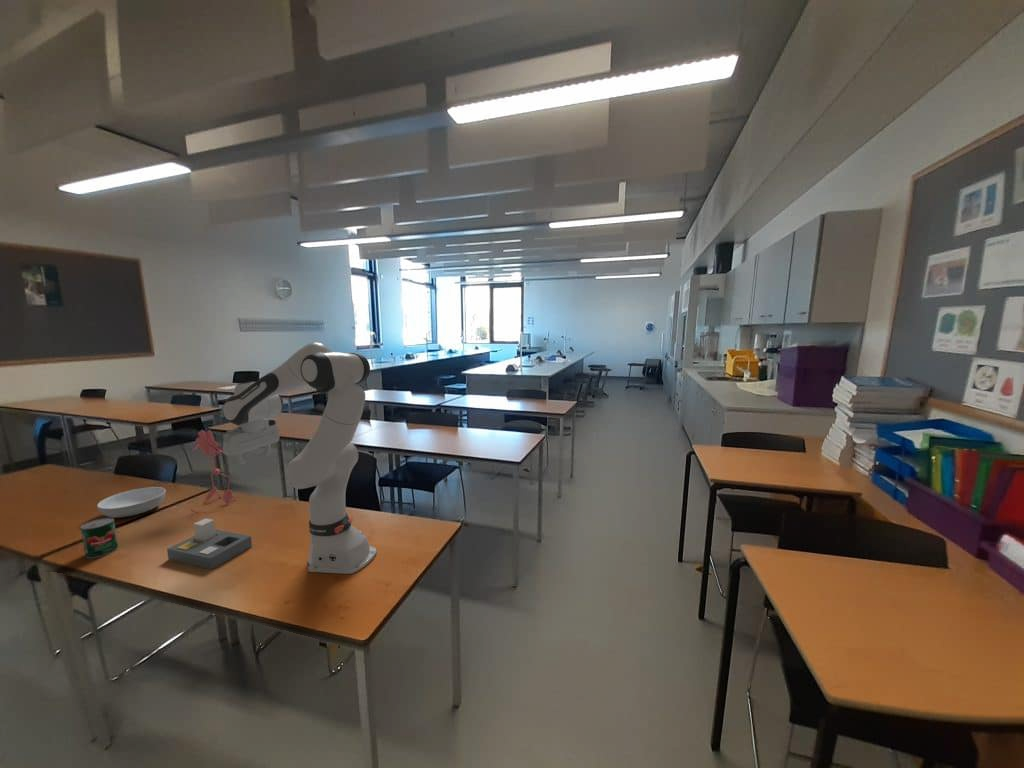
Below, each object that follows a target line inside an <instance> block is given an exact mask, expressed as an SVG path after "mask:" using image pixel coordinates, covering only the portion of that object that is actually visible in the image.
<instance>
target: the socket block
mask: <svg viewBox="0 0 1024 768" xmlns="http://www.w3.org/2000/svg"><path fill="white" fill-rule="evenodd" d="M215 534H216V536H215V537H213V538H211V539H209V540H207V541H205V542H199V541H196V538H195V535H194V536H191V537H188V538H186V539H185V540H183V541H181V542H178V543H177V544H174V545H172V546H170V547H168V548H166V550H167V559H168V561H172V562H177V563H181V564H185V565H190V566H194V567H198V568H199V567H200V568H203V569H208V570H210V571H211V570H212V571H213V570H214V569H216V568H218V567H219V566H221V565H223V564H225V563H226V562H228V561H229V560H232V558H235V557H236V556H238V555H240V554H242V553H244V552H245V551H247V550H248V549H250V548H252V547H253V543H252V536H251V535H248V534H247V535H246V534H241V533H237V532H231V531H227V530H220V529H216V528H215Z"/></svg>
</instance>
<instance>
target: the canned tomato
mask: <svg viewBox="0 0 1024 768" xmlns="http://www.w3.org/2000/svg"><path fill="white" fill-rule="evenodd" d="M114 518H115V517H102V518H98V519H93V520H91V521H88V522H86V523H84V524H82V525H81V526H80V531H81V532H80V533H81V537H82V542H83V543H82V544H83V548H84V549H83V550H84V553H85V558H87V559H96V558H101V557H104V556H107V555H110V554H112V553H114V552H116V551H117V550H118V549H119V543H118V537H117V531H116V525H115V524H116V523H115V519H114Z"/></svg>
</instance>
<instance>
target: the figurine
mask: <svg viewBox="0 0 1024 768" xmlns="http://www.w3.org/2000/svg"><path fill="white" fill-rule="evenodd" d="M197 435H198V437H196V439H195V442H196V444H197V445H196V446H195V447H194V448H193V449H192V451H191V453H193V452H195V450H197V449H198V448H199V449H200V450H201V453H202V455H203V456H207V453H208V454H209V455H210V456H211V457H210V460H209V461H210V463H211V464H212V467H213V468H214V469H213V470H212V473H211V474H210V477H211V483H212V488H211V489H210V490H209V491H208V493H207V495H206V497H205V500H204V502H207V501H209V500H210V499H212V497H213V496H214V495H215V493H216V494H217V495H218V496H219V497H220V498H222V500H223V502H224V503H225V505H228V504H229V503H230V502H231V500H234V499H236V497H234V496H233V491H232V490H231V489H230V484H231V476H229V475H226V474H223V473H221V469H219V468H216V467H215V465H214V464H215V463H214V461H213V458H215V457H216V456H217V455H218V454H220V453H223V445H222V449H219V448H218V447H219V445H220V444H219V442H217V441H215V436H214V434H213V432H212V431H211V430H210V429H208V430H207V431H205V430H203V429H201V430H200V431H198V432H197ZM213 475H215V476H217V475H222V476H223V477H228V486H227V490H225V491H224V493H223V496H222V495H221V494H220V493H219V491H218V490H217V487H216V486H214V480H213ZM221 496H222V497H221Z"/></svg>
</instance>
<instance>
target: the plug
mask: <svg viewBox="0 0 1024 768" xmlns="http://www.w3.org/2000/svg"><path fill="white" fill-rule="evenodd" d="M193 526H194V527H193V528H194V536H195V538H196V541H199V542H205V541H207V540H209V539H211V538H213V537H215V536H216V534H215V529H216V527H215V520H214V519H212V518H211V519H210V518H203V519H201V520H199V521H196V522H194V523H193Z"/></svg>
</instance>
